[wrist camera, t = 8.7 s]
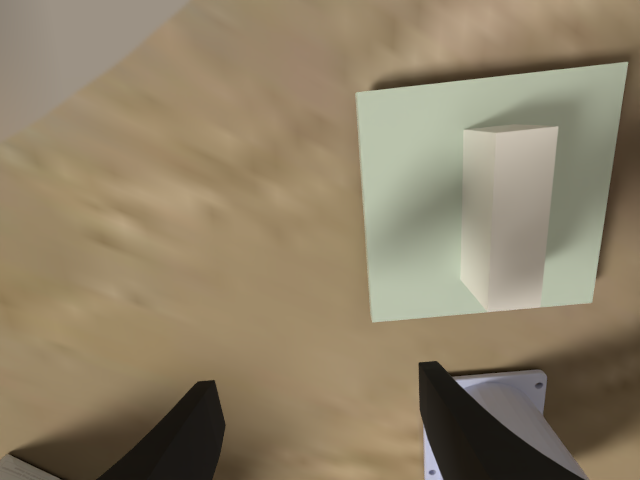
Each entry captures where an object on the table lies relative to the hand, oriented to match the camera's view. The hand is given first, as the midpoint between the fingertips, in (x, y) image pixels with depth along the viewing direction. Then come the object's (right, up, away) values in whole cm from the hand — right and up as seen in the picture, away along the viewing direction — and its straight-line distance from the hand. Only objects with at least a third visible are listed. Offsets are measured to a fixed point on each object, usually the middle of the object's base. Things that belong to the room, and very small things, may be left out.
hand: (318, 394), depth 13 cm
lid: (+9, +7, +7) cm, 13 cm away
